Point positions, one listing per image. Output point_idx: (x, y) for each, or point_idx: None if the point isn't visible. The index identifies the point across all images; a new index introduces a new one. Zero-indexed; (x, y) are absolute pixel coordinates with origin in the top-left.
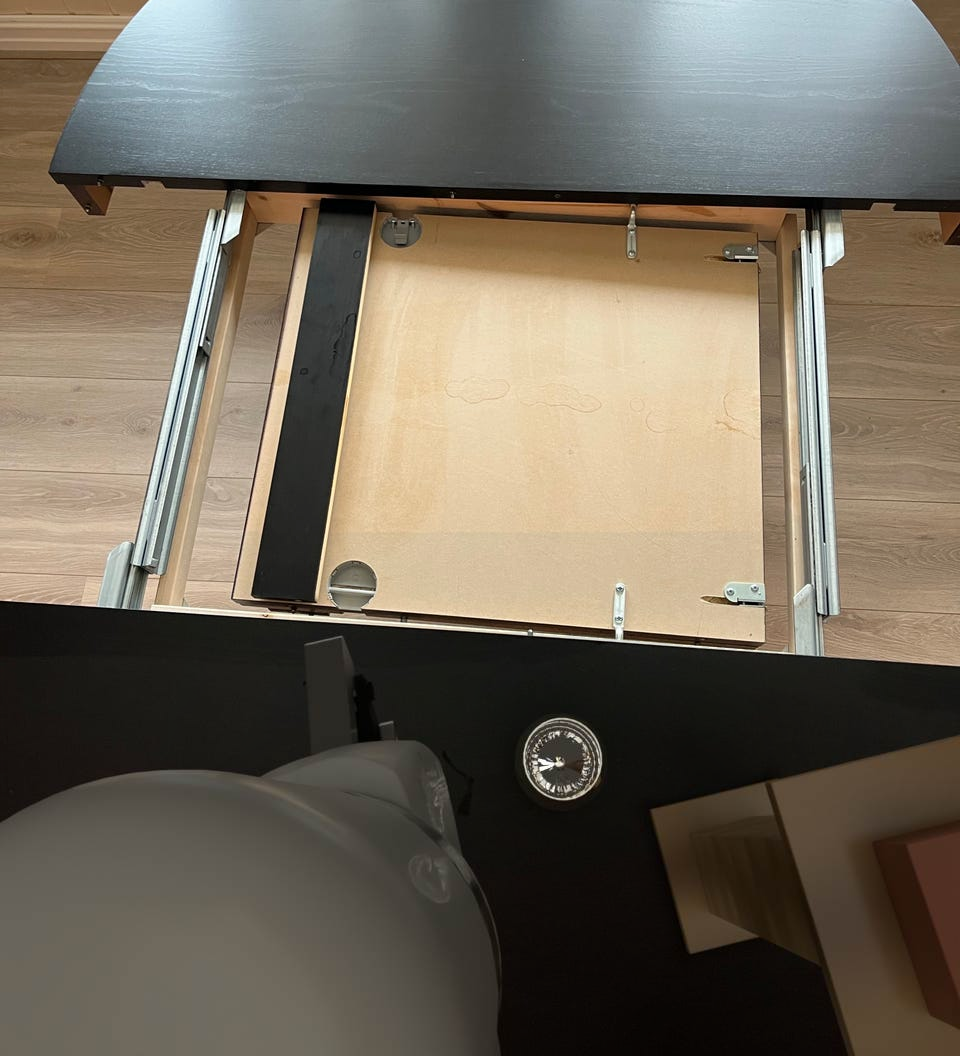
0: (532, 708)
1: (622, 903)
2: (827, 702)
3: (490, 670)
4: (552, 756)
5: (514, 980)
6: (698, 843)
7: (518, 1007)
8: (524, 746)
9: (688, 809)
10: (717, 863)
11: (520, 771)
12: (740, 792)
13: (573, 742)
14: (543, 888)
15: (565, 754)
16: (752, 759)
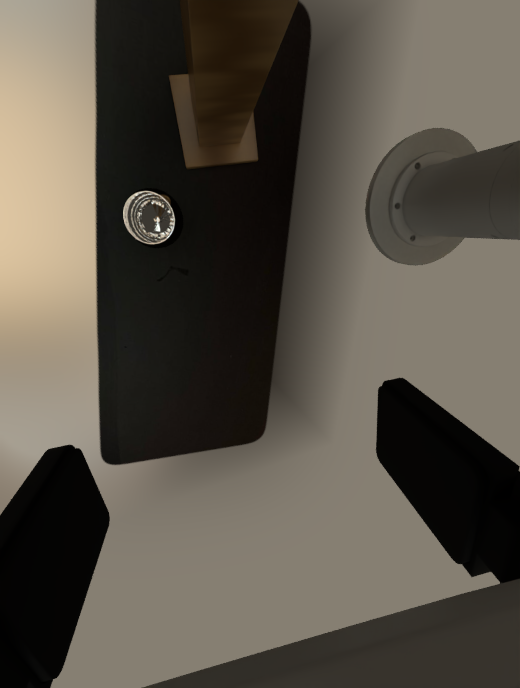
0: None
1: (232, 193)
2: (120, 22)
3: (112, 252)
4: (154, 223)
5: (261, 253)
6: (204, 139)
7: (271, 253)
8: (142, 242)
9: (186, 143)
10: (214, 123)
11: (159, 246)
12: (177, 106)
13: (145, 209)
14: (223, 235)
15: (153, 215)
16: (158, 93)
